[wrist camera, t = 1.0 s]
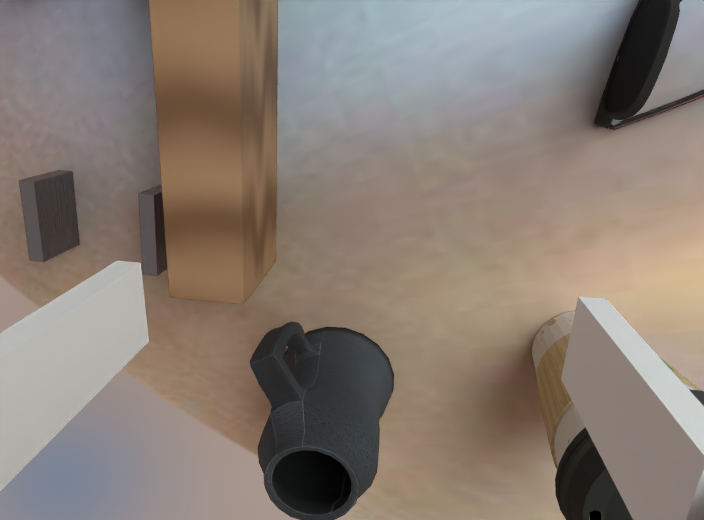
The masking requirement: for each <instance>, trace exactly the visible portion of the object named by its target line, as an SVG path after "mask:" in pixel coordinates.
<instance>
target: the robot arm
mask: <svg viewBox="0 0 704 520" xmlns="http://www.w3.org/2000/svg"><path fill="white" fill-rule="evenodd" d="M148 342H149V337H148V327H147V318H146V309H145V299H144V290H143V281H142V271H141V263H139V262H127V261H116V262H114V263H112V264H111V265H109V266H108V267H106V268H104V269H103V270H101V271H99V272H98V273H96V274H95V275H93V276H91V277H90V278H88V279H87V280H85V281H83V282H82V283H80V284H78V285H77V286H75V287H74V288H72V289H70V290H69V291H67V292H65V293H64V294H62V295H61V296H59V297H57V298H56V299H54V300H52V301H51V302H49V303H48V304H46V305H44V306H43V307H41V308H40V309H38V310H36V311H35V312H33V313H31V314H30V315H28V316H27V317H25V318H23V319H22V320H20V321H19V322H17V323H15V324H14V325H12V326H10V327H9V328H7V329H6V330H4V331H2V332H0V491H1V490H2V489H3V488H4V487H5V486H6V485H7V484H8V483H9V482H10V481H11V480H12V479H13V478H14V477H15V476H16V475H17V474H18V473H19V472H20V471H21V470H22V469H23V468H24V467H25V466H26V465H27V464H28V463H29V462H30V461H31V460H32V459H33V458H34V457H35V456H36V455H37V454H38V452H40V451H41V449H42V448H43V447H45V446H46V445H47V443H49V442H50V440H52V438H54V437H55V436H56V435H57V434H58V433H59V432H60V431H61V430H62V428H64V427H65V426H66V424H68V422H69V421H70V420H71V419H72V418H73V417H74V416H75V415H76V414H77V413H78V412H79V411H80V410H81V409H82V408H83V407H84V406H85V405H86V404H87V403H88V402H89V401H90V400H91V399H92V398H93V397H94V396H95V395H96V394H97V393H98V392H99V391H100V390H101V389H102V388H103V387H104V386H105V385H106V384H107V383H108V382H109V381H110V380H111V379H112V378H113V377H114V376H115V375H116V374H117V373H118V372H119V371H120V370H121V369H122V368H123V367H124V366H125V365H126V364H127V363H128V362H129V361H130V360H131V359H132V358H133V357H134V356H135V355H136V354H137V353H138V352H139V351H140V350H141V349H142V348H143V347H144V346H145V345H146V344H147V343H148ZM561 380H562V382H563V384H564V386H565V388H566V390H567V392H568V394H569V396H570V398H571V400H572V402H573V404H574V406H575V407H576V409H577V411H578V413H579V415H580V417H581V419H582V421H583V423H584V425H585V427H586V429H587V431H588V433H589V435H590V437H591V439H592V441H593V443H594V444H595V446H596V448H597V450H598V452H599V454H600V456H601V458H602V460H603V462H604V464H605V466H606V468H607V470H608V472H609V474H610V476H611V478H612V480H613V481H614V483H615V485H616V487H617V489H618V491H619V493H620V495H621V497H622V499H623V501H624V503H625V505H626V507H627V509H628V511H629V513H630V515H631V517H632V518H633V520H704V392H703V391H701V390H690V389H688V388H687V387H686V386H685V385H684V384H683V383H682V382H681V381H680V379H679V378H678V377H677V376H676V375H675V374H674V373H673V372H672V371H671V370H670V369H669V367H668V366H667V365H666V364H665V363H664V362H663V361H662V360H661V359H660V358H659V356H658V355H657V354H656V353H655V352H654V351H653V350H652V349H651V348H650V347H649V345H648V344H647V343H646V342H645V341H644V340H643V339H642V338H641V337H640V336H639V334H638V333H637V332H636V331H635V330H634V329H633V328H632V327H631V326H630V325H629V323H628V322H627V321H626V320H625V319H624V318H623V317H622V316H621V315H620V314H619V312H618V311H617V310H616V309H615V308H614V307H613V306H612V305H611V304H610V303H609V302H608V300H607V299H602V298H589V297H578V301H577V306H576V310H575V315H574V320H573V325H572V329H571V334H570V339H569V344H568V348H567V353H566V358H565V362H564V367H563V372H562V377H561Z"/></svg>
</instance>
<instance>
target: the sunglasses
mask: <svg viewBox="0 0 704 520" xmlns="http://www.w3.org/2000/svg"><path fill="white" fill-rule="evenodd" d="M681 1H682V0H640V1H639V4H638V6H637V8H636V10H635V12H634V14H633V16H632V17H631V20H630V22H629V24H628V27H627V30H626V32H625V35H624V38H623V40H622V43H621V45H620V48H619V51H618V53H617V56H616V58H615V61H614V64H613V67H612V70H611V72H610V75H609V78H608V81H607V84H606V86H605V89H604V92H603V95H602V98H601V102H600V106H599V109H598V112H597V116H596V119H595V124H597V125H599V126H602V127H605V128H608V127H610V129H613V130H615V129H618V128H620V127H623V126H626V125H629V124H632V123H635V122H637V121H640V120H643V119H646V118H649V117H652V116H654V115H657V114H660V113H662V112H665V111H668V110H670V109H673V108H676V107H678V106H681V105H684V104H686V103H689V102H691V101H694V100H696V99H699V98H701V97H704V90H702V91H699V92H697V93H695V94H692V95H690V96H687V97H685V98H682V99H680V100H677V101H674V102H672V103H669V104H666V105H664V106H661V107H658V108H656V109H653V110H650V111H648V112H645V113H642V114H639V115H637V116H634V117H632V116H633V115H635V114H636V113H637V112H638V111H639V110H640V109H641V108H642V107H643V105H644V104H645V103H646V101H647V99H648V97H649V96H650V94H651V92H652V90H653V87H654V85H655V83H656V81H657V78H658V76H659V73H660V71H661V69H662V66H663V64H664V61H665V59H666V56H667V53H668V50H669V47H670V43H671V40H672V37H673V34H674V31H675V28H676V25H677V21H678V17H679V12H680V9H679V4H680V2H681ZM618 56H619V58H618ZM617 58H618V61H617ZM629 117H631V118H629ZM627 118H628V119H627ZM624 119H626V120H624ZM616 120H623V121H616ZM610 124H611V125H610Z"/></svg>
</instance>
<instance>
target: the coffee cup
mask: <svg viewBox="0 0 704 520" xmlns="http://www.w3.org/2000/svg"><path fill="white" fill-rule="evenodd" d="M574 315H575V311H570V312H566V313H562V314H560V315H558V316H555V317H553V318H552V319H550V320H549V321H548V322H546V323H545V324H544V325H543V326H542V327H541V328H540V330H539V331H538V333H537V334H536V336H535V338H534V341H533V345H532V358H533V362H534V366H535V371H536V383H537V389H538V394H539V398H540V403H541V407H542V412H543V417H544V421H545V426H546V430H547V435H548V440H549V444H550V449H551V453H552V457H553V460H554V463H555V466H556V468H557V474H556V478H555V487H556V497H557V500H558V504H559V507H560V510H561V512H562V513H563V515H564V517H565V518H566V520H633V518H632V517H631V515H630V513H629V511H628V509H627V507H626V505H625V503H624V501H623V499H622V497H621V495H620V493H619V491H618V489H617V487H616V485H615V483H614V481H613V480H612V478H611V476H610V474H609V472H608V470H607V468H606V466H605V464H604V462H603V460H602V458H601V456H600V454H599V452H598V450H597V448H596V446H595V444H594V443H593V441H592V439H591V437H590V435H589V433H588V431H587V429H586V427H585V425H584V423H583V421H582V419H581V417H580V415H579V413H578V411H577V409H576V407H575V406H574V404H573V402H572V400H571V398H570V396H569V394H568V392H567V390H566V388H565V386H564V384H563V382H562V380H561V377H562V372H563V367H564V362H565V358H566V353H567V348H568V344H569V339H570V334H571V329H572V325H573V320H574ZM659 358H660V357H659ZM660 359H661V358H660ZM661 360H662V359H661ZM662 361H663V362H664V363H665V364H666V365H667V366H668V367H669V369H670V370H671V371H672V372H673V373H674V374H675V375H676V376H677V377H678V378H679V379H680V381H681V382H682V383H683V384H684V385H685V386H686V387H687V388H688V389H690V390H701V389H700V388H699V387H697V386H696V385H695V384H693V383H692V382H691V381H689V380H688V379H687V378H686V377H684V376H683V375H682V374H680V373H679V372H678V371H677V370H675V369H674V368H673V367H671V366H670V365H669V364H667V363H666V362H665V361H664V360H662ZM701 391H702V390H701ZM703 392H704V391H703Z"/></svg>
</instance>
